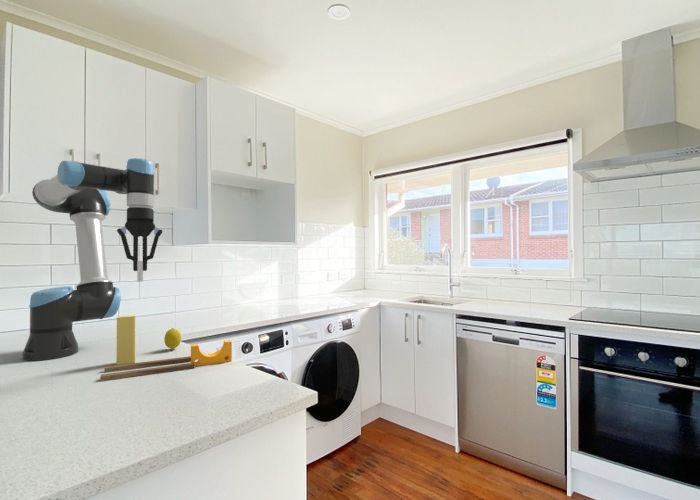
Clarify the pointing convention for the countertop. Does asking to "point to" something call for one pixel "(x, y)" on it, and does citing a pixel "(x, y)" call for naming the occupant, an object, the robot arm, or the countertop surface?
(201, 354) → the pipe clamp
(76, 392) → the countertop surface
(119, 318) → the yellow rectangular block
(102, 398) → the countertop surface
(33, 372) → the countertop surface
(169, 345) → the lemon
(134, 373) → the channel
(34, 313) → the robot arm
